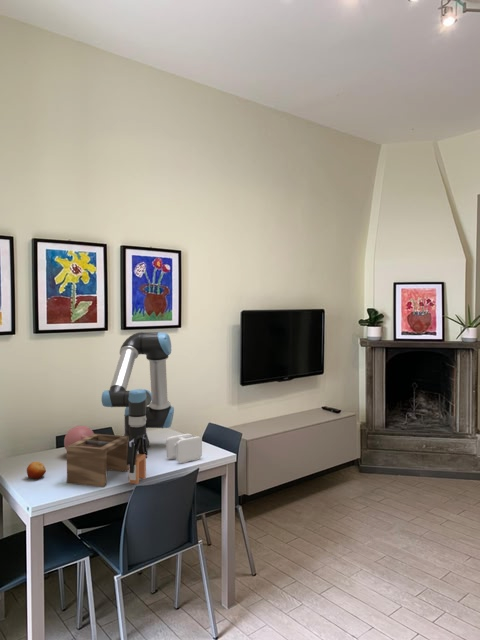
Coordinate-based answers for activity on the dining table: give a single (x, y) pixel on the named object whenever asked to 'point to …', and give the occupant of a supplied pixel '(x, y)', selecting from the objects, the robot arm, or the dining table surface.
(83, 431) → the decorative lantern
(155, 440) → the dining table surface
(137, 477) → the orange arch block
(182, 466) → the dining table surface
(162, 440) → the dining table surface
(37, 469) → the fruit
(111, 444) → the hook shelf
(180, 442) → the cable organizer
